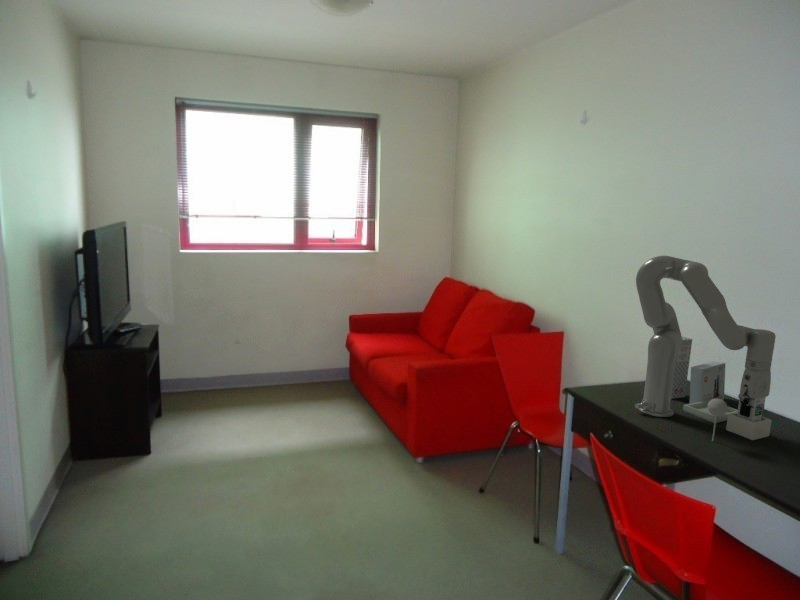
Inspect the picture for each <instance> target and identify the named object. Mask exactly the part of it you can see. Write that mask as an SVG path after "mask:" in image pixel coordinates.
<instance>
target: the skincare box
mask: <svg viewBox="0 0 800 600" xmlns="http://www.w3.org/2000/svg"><path fill="white" fill-rule="evenodd" d="M725 380H726V362H720V361H710V362H707V363H702V364H697V365H694V366H691V367H690V383H689V402H688V404H691V403H696V402H704V401H707V400H712V399H716V398H717V399H722V400H723V401H724V400H725V389H726V388H725V386H726V384H725V383H726V381H725Z"/></svg>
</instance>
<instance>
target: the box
mask: <svg viewBox="0 0 800 600" xmlns="http://www.w3.org/2000/svg"><path fill="white" fill-rule="evenodd" d="M692 345H693V339H692V338H690V337H686V336H682V344H681V346H680V347H679V349H678V350H677V351H676V358H675V370H674V379H673V387H672V394H671V400H674V399H680V398H685V397H686V390H687V382H688V375H689V367H690V360H691V353H692V352H691V351H692Z"/></svg>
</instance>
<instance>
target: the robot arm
mask: <svg viewBox="0 0 800 600" xmlns="http://www.w3.org/2000/svg"><path fill="white" fill-rule="evenodd" d="M662 279H670V280H673V281H677V282H681V283H682V285H683V287H685V289H686V290H687V292H688V293H689V295H690V296H691V298H692V299H693V301H694V302H695V303H696V305H697V307H698V308H699V309H700V310H701V313H702V315H703V316H704V318H705V319H706V320H705V321H707V323H708V325H709V327H710V328H711V330H712V332H713V333H714V334H715V336H716V337H717V339H718V341H720V342H721V344H722V345H723V346H724V347H725V348H727V349H729V350H730V351H739V350H742V349H743V348H745V347H747V349H746V355H745V361H744V362H745V363H744V371H743V374H742V378H741V383H740V388H739V394H738V395H737V398H738V399H740V404H741V407H740V415H743V416H746V417H749V416H750V410H751V406H750V404H751V401H752V399H758V398H763V397H766V398H767V397H769V396H770V390H771V383H772V382H771V380H772V375H771V374H772V373H771V372H772V371H771V368H772V361H773V355H774V349H775V342H776V338H777V337H776V334H775V332H774V331H771V330H767V329H759V328H756V329H755V328H751V327H747V326H744V325H739V324H737V322H736V321H735V319H734V318H733V316H732V315H731V313H730V311H729V309H728V306H727V303H726V298H725V296H724V295H723V294H722V292H721V291H720V290H719V288H718V287H717V285H716V284H715V283H714V280H712V278H711V277H710V275H709V271H708V268H707V266H706V265H704V264H703V263H701V262H697V261H693V260H688V259H683V258H679V257H675V256H672V255H671V256H670V255H659V256H654V257H652V258H650V259H648V260H647V261H645V262H644V263H643V264H642V265H641V266H640V267H639V269H638V271H637V273H636V277H635V286H636V290H637V294H638V298H639V299H638V300H639V303H640V306H641V310H642V315H643V319H644V323H645V324H646V325H647V326H648V327H650V328H652V331H653V335H652V336H651V338H650V339H649V342H648V346H647V348H648V349H647V365H646V374H645V383H644V388H643V389H644V390H643V398H642V399H641V402H637V403H635V404H634V408H635V409H638V411H640V412H642V413H643V414H646V415H648V416H653V417H659V418H669V417H673V416H674V415H675V413H674V412H675V411H674V410H673V409H672V408H670V407H671V401H672V399H671V394H672V387H673V379H674V370H675V358H676V351H677V350H678V349H679V347H680V346H681V344H682V337H683V336H682V334H681V333H682V332H681V329H680V326H679V322H678V321H679V320H678V317H677V313H676V311H675V309H674V307H673V306H672V304H670V303H669V302H666V299H665V296H664V291H663V288H662V286H661V280H662ZM746 394H747V395H749V397H748V396H745V395H746ZM745 398H748V401H747V400H746V399H745Z"/></svg>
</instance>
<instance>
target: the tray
mask: <svg viewBox="0 0 800 600" xmlns="http://www.w3.org/2000/svg"><path fill="white" fill-rule="evenodd" d="M709 401H710V400H707V401H704V402H696V403H691V404H689V403H687V404H683V405H682V406H683V407H682V412H684V413H688V415H691V416H695V417H697V418H700V419H702V420H704V421H707V422H710V423H713V424H714V423H715V416H714V415H712V414H711V413H710V412H709V410H708V403H709ZM727 407H728V410H727V412H726V413H725V414H724V415H722V416H717V420H716V424H717V423H721V422H727V419H728V414H730V413H735V412H738V408H734V407H731V406H729V405H727Z"/></svg>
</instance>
